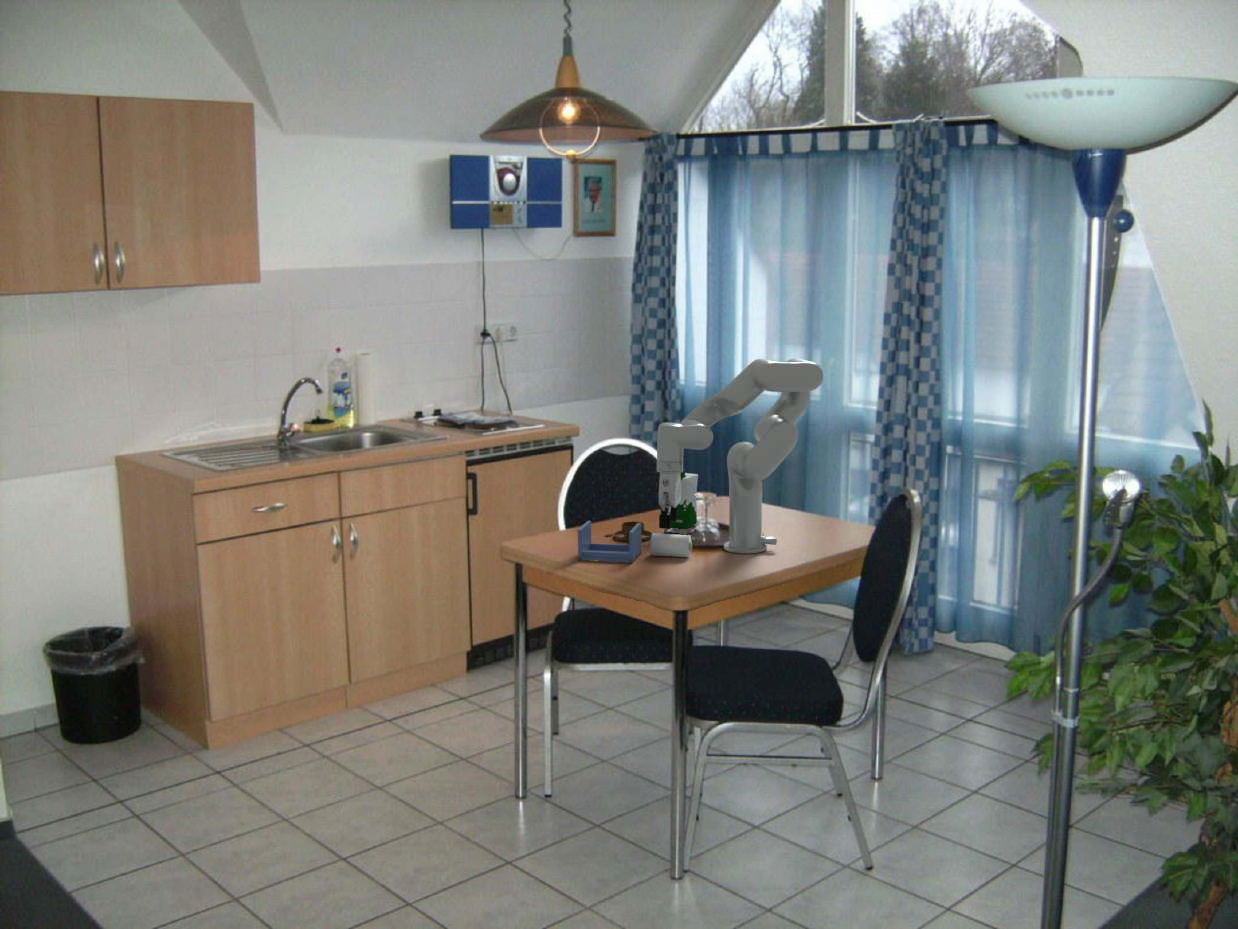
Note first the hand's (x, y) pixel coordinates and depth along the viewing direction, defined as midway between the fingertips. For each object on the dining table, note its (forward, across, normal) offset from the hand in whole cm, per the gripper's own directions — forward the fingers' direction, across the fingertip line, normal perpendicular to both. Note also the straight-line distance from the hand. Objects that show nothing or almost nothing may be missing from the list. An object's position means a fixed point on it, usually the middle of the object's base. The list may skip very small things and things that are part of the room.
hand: (668, 524), depth 365 cm
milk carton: (+9, +29, +1) cm, 30 cm away
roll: (+9, +1, -1) cm, 9 cm away
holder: (+10, -4, +16) cm, 19 cm away
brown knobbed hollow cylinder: (+10, +15, +16) cm, 24 cm away
